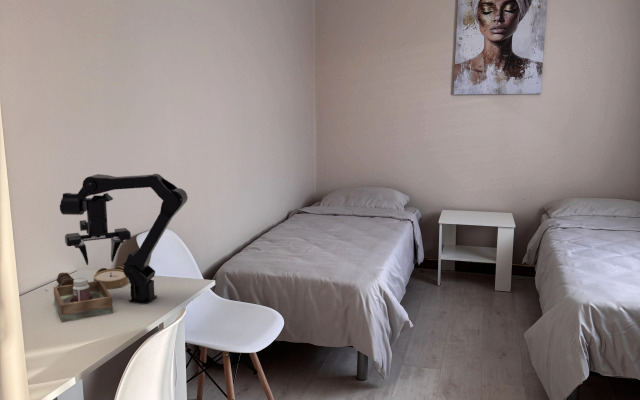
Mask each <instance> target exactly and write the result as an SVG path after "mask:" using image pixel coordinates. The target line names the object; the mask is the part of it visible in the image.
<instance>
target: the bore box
mask: <svg viewBox="0 0 640 400" xmlns="http://www.w3.org/2000/svg"><path fill="white" fill-rule="evenodd" d="M88 285H89V288H90V300H85V301H79V302H74V298H73V286H74V284H73V285H66V286H60V285H59V286H54V287H53V297H54V304H55V307H56V308H55V309H56V310H57V313H58V315H59V318H60V321H61V323H65V322H70V321H75V320H79V319H86V318H93V317H98V316H102V315H108V314H113V313H114V309H113V297H112V295H111V294H110V292H109V289H106V287H105V286H104V284H103V283H102V281H101V280H100V281H94V280H93V281H88Z"/></svg>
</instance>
